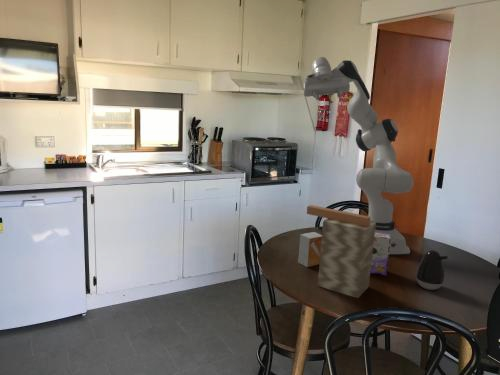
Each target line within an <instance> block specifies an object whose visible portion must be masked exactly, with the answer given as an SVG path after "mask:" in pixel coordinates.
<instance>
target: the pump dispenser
mask: <svg viewBox="0 0 500 375" xmlns="http://www.w3.org/2000/svg"><path fill="white" fill-rule="evenodd" d="M447 259H449V258H448V256H447V255H441V254H440V253H439V252H438V251H437V250H435V249H429V250H427V252H425V254H424V255H423V256H422V258H421V259H420V261H419V263H418V266H417V269H416V272H415V277H416V278H415V279H416V281H417V283H418V285H419V286H420V287H422V288H423V289H425V290H429V291H434V290H438V289H440V288H441V287H442V286H443V284H444V282H445V266H444V262H443V260H447Z"/></svg>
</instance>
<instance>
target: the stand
mask: <svg viewBox="0 0 500 375" xmlns="http://www.w3.org/2000/svg"><path fill="white" fill-rule="evenodd" d="M375 227H376V222H372V221H370V225H368V226H362V225H357V224H352V223H348V222H343V221H338V220H333V219H329V218H325V219H324V220H323V221H322V230H321V232H322V233H321V235H322V242H321V253H320V264H319V267H318V278H317V286H318V287H320V288H323V289H327V290H329V291H333V292H336V293H340V294H343V295H346V296H348V297H349V296H350V297H353V298H356V299H359V298H360V297H361V296H362V295H363V293H365V292H366V290H367V289H368V288H369V286H370V281H371V280H370V278H371V273H370V271H371V262H372V254H373V245H374V236H375Z"/></svg>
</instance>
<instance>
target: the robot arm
mask: <svg viewBox="0 0 500 375" xmlns="http://www.w3.org/2000/svg"><path fill="white" fill-rule="evenodd" d="M311 72H312V74H309V75H306V76H305V79H304V83H303V95H304V97H307V98H309V97H312V98H315V100H316V101H319V100H320V97H321V96H324V95H330V96H331V95H335V94H337V95H336V96H337V98H342V94H344V93H349V92H350V91H351V90H350V88H351V87H350V86H351V85H350V83H352V82H353V85H355V87H356V89H357V90H356V91H355V93H354V95H353V96H352V97H351V98H350V100H349V101H348V103H347V108H346V109H347V113H348V115H349V116H350V118H351V119H353V121H354V122H356V123H357V124H358V125H359V126H360V129H358V130H357V133H356V135H355V143H356V145H357V147H358V148H359V149H360V151H361V152H368V151H371V150H372V149H375V150H374V154H373V160H372V162H373V163H372V167H368V168H367V167H365V168H361V169H360V170H358V172H357V174H356V177H355V179H356V180H355V181H356V185H357V187H359V189H360V190H362V191H363V193H364V195H366V198H367V202H368V214H367V216H369V217H370V221H372V222H376V227H375V233H382V234H391V240H390V251H389V255H409V254H410V253H411V249H410V248H409V246H408V245H407V242H406V238H405V237H404V235H402V234H401V233H400V232H399V231H398V230H397V229H399V227H400V226H399V224H398V223H396V222H395V221H393V213H394V205H393V203H392V202H391V201H390V200H389V199H387V198H385V197H384V196H382V193H387V194H389V193H390V194H406V193H409V192H410V191H411V190H412V188H413V187H414V177H413V176H412V174H411V173H410V172H409V171H407V170H404V169H402V168H401V167H400V166H399V165H398V164H397V156H396V150H395V148H394V146H393V145H392V142H393V143H394V142H395V141H396V138H397V137H398V133H399V132H398V126H397V124H396V122H395V121H394V120H393V119H391V118H385V119H383V120H382V119H381V121H379V122H378V114H377V112H376V111H375V109H374V108H373V106H372V105H371V104H370V103H369V100H370V98H371V96H370V92H369V91H368V88H367V85H366V84H365V82H364V81H363V78H362V77H361V75H360V74H359V70H358V68H357V66H356V64H355V63H354V62H353V61H352V60H346V59H345V60H341V62H340V63H339V64H338V65H337V66H335V67H334V68H333V69H332V68H331V64H330V62H329V60H328V59H327V58H326V57H324V56H319V57H317V58H315V59H314V60H313V61H312V64H311Z"/></svg>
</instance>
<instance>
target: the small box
mask: <svg viewBox="0 0 500 375" xmlns="http://www.w3.org/2000/svg"><path fill="white" fill-rule="evenodd" d="M321 242H322V234H320V233H318V232H316V231H311V232H305V233H301V234H300V235H299V249H298V259H297V263H298V264H301V265H302V266H304V267H306V268H309V267H314V266H317V265H320V253H321Z"/></svg>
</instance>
